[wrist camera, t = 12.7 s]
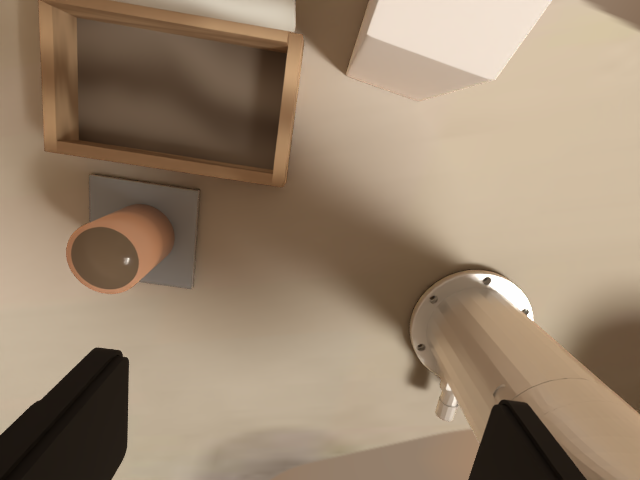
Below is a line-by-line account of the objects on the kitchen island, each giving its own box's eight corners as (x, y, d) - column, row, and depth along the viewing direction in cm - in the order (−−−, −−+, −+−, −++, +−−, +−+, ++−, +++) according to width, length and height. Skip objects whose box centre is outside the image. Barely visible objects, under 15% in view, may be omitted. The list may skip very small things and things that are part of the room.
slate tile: (193, 286, 39) (191, 289, 38) (93, 273, 39) (90, 275, 38) (199, 190, 36) (198, 191, 36) (92, 174, 36) (89, 174, 35)
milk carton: (419, 102, 34) (536, 70, 16) (345, 76, 34) (378, 11, 15) (450, 18, 33) (623, -127, 14) (372, -12, 32) (447, -203, 14)
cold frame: (286, 182, 36) (262, 221, 20) (70, 149, 35) (-129, 164, 19) (311, -14, 32) (306, -155, 16) (65, -58, 31) (-198, -256, 15)
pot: (172, 268, 38) (142, 298, 31) (110, 258, 37) (66, 288, 31) (176, 209, 36) (145, 228, 29) (111, 199, 36) (64, 216, 29)
